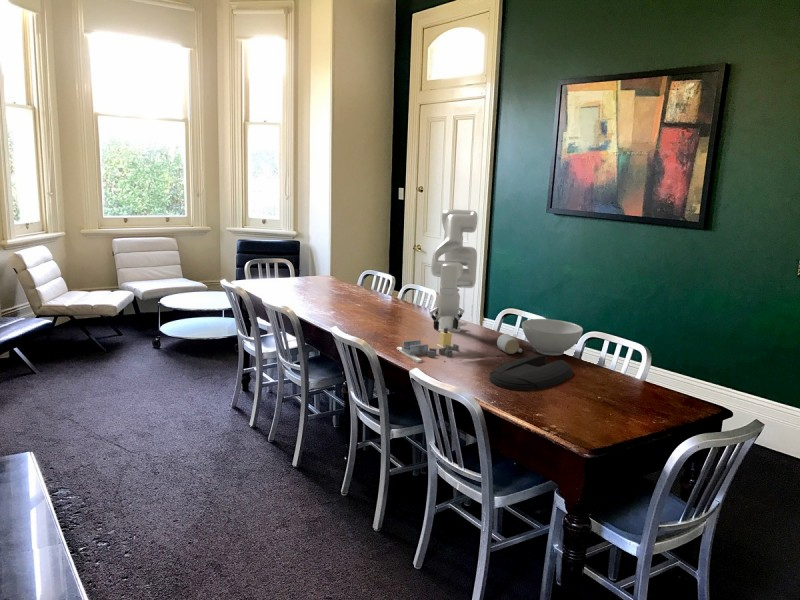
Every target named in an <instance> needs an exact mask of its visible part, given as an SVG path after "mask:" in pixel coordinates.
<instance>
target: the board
mask: <svg viewBox="0 0 800 600" xmlns="http://www.w3.org/2000/svg"><path fill="white" fill-rule="evenodd" d="M435 345H437V346H438V347H440V348H434V347H433V348H432V347H429V348H428V354H427V358H436V355H437V352H438V355H439V356H441V355H445V358H448V357H452V356H453V351H454V352H459V348H460V345H458V344H457V343H453V345H451V346H449V345H445V347H442V346H440V345H439V343H437V344H435ZM402 347H403V346H397V347H396V350H397V351H398V350H399V351H398V352H401V354H403V355H404V356H406V357H408V358H409V357H410V358H409V359H411V360H413V361H414V362H416V363H417V364H418V363H425V362H426V361H424V360H423V359H421V358H419V357H418V356H417V355H408V354H407V353H405V352H404V351H402ZM437 350H438V351H437Z"/></svg>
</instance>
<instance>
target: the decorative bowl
mask: <svg viewBox="0 0 800 600" xmlns="http://www.w3.org/2000/svg"><path fill="white" fill-rule="evenodd" d="M521 327H522V332H523V335H524V337H525V338H526V340H527V342H528V344H530V345H531V346H532V347H533V348H534V349H535V351H536V352H537V353H538V354H541V355H544V356H561V355H563V354H565V352H566V351H568V350H570V349H571V348H573V347H574V346H575V345H576V344H577V343H578V341H579V340H580V338H581V337H582V335H583V331H584V329H583V327H582V326H581V325H578V324H575V323H573V322H570V321H569V322H568V321H564V320H558V319H549V318H532V319H526V320H524V321H522V323H521Z"/></svg>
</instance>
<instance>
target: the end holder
mask: <svg viewBox="0 0 800 600" xmlns="http://www.w3.org/2000/svg"><path fill="white" fill-rule="evenodd" d="M401 347H402V351H404V352H405V353H407V354H408V355H415V356H417V355H428V351H429V344H426V343H425V344H424V343H423V344H421V340H420V339H415V340H414V339H413V340H403V341H402V346H401Z"/></svg>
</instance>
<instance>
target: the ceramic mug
mask: <svg viewBox="0 0 800 600" xmlns="http://www.w3.org/2000/svg"><path fill="white" fill-rule="evenodd" d="M496 346H497V348H498V349H499V350H501V351H503V352H504V353H506V354H508V355H514V354H515V353H517V352H518V353H522V352H523V349H522V348H521V347H520V344H519V341H518V340H517V339H516V338H514V337H513V336H512V335H510V334H508V333H503V334H500V335H499V337H498V338H497V341H496Z"/></svg>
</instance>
